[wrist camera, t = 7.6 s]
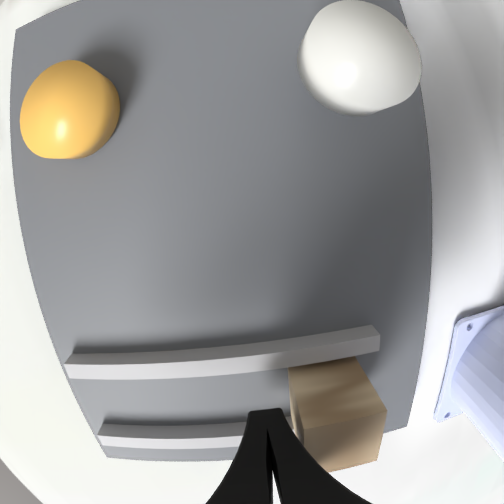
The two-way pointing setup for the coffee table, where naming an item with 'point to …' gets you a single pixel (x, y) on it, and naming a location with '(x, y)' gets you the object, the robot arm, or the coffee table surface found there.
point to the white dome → (358, 59)
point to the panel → (219, 224)
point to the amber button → (69, 111)
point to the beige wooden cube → (336, 413)
